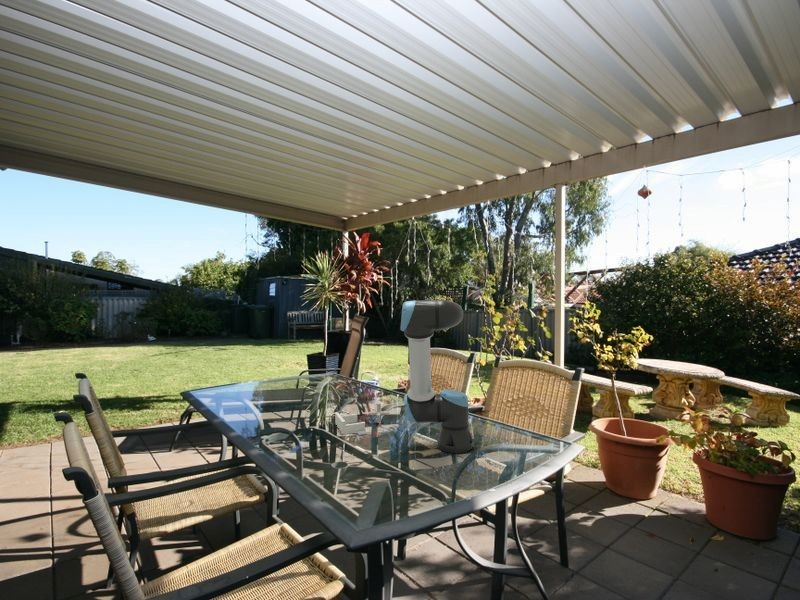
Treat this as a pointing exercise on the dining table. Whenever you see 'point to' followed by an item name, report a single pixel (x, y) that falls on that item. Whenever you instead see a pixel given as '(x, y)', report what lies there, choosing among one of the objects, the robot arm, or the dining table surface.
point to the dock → (349, 428)
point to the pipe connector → (379, 413)
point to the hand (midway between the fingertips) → (411, 379)
